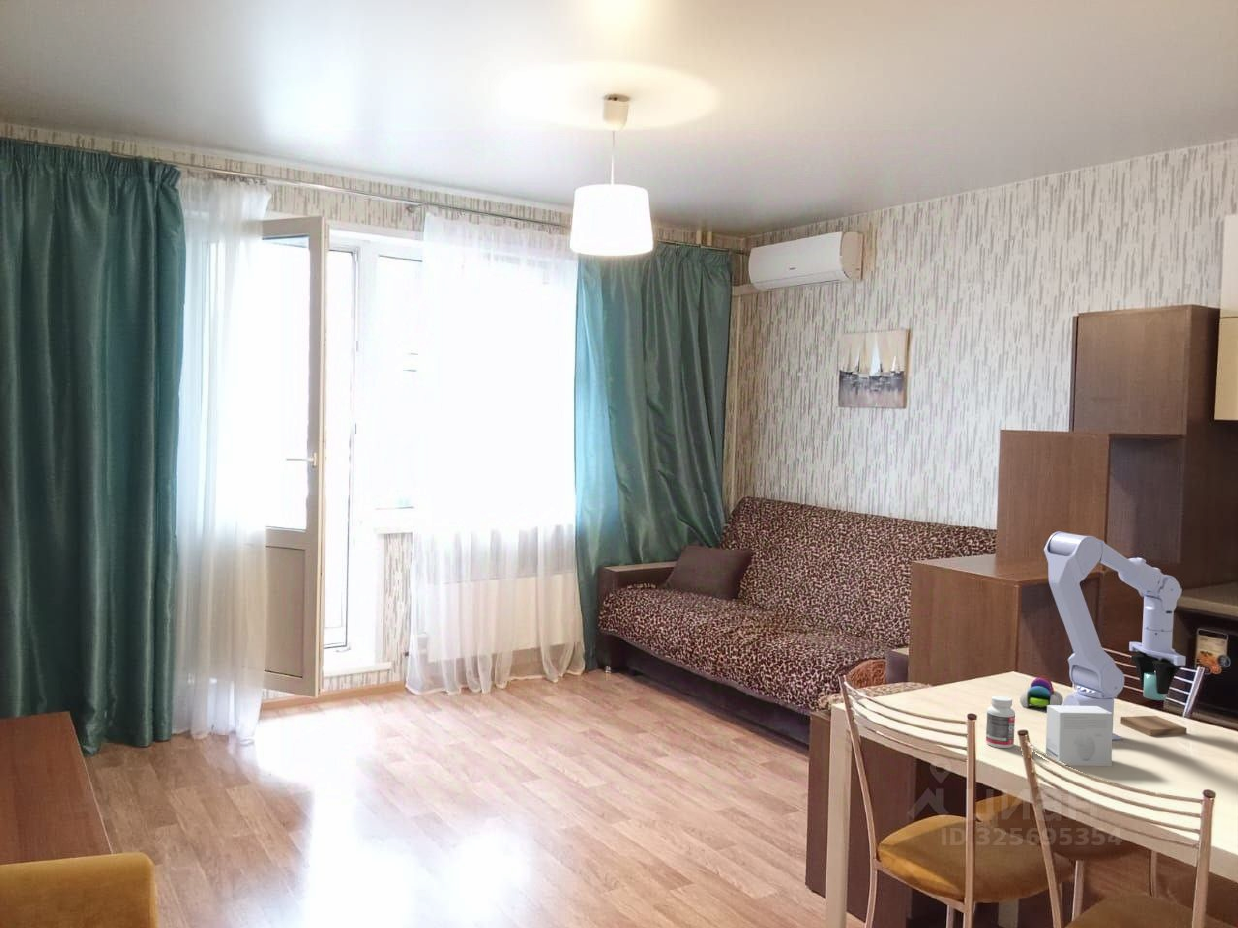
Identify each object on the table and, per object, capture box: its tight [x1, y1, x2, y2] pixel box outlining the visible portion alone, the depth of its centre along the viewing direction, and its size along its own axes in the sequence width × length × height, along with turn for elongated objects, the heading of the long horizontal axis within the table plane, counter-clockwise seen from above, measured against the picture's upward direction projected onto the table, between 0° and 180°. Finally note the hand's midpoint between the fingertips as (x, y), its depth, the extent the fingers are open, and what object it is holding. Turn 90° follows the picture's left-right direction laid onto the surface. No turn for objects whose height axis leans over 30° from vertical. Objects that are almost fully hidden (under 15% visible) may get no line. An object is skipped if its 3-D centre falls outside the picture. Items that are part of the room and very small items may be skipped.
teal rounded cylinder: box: [1142, 671, 1167, 701], centre depth 215 cm, size 4×4×5 cm
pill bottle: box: [985, 695, 1016, 749], centre depth 203 cm, size 5×5×10 cm
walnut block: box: [1119, 715, 1187, 737], centre depth 215 cm, size 9×9×2 cm
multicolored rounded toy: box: [1019, 676, 1064, 709], centre depth 232 cm, size 8×10×7 cm
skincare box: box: [1045, 704, 1114, 767], centre depth 194 cm, size 10×6×10 cm, turn 91°
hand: (1154, 690), depth 215 cm, fingers closed on teal rounded cylinder, 4 cm apart
